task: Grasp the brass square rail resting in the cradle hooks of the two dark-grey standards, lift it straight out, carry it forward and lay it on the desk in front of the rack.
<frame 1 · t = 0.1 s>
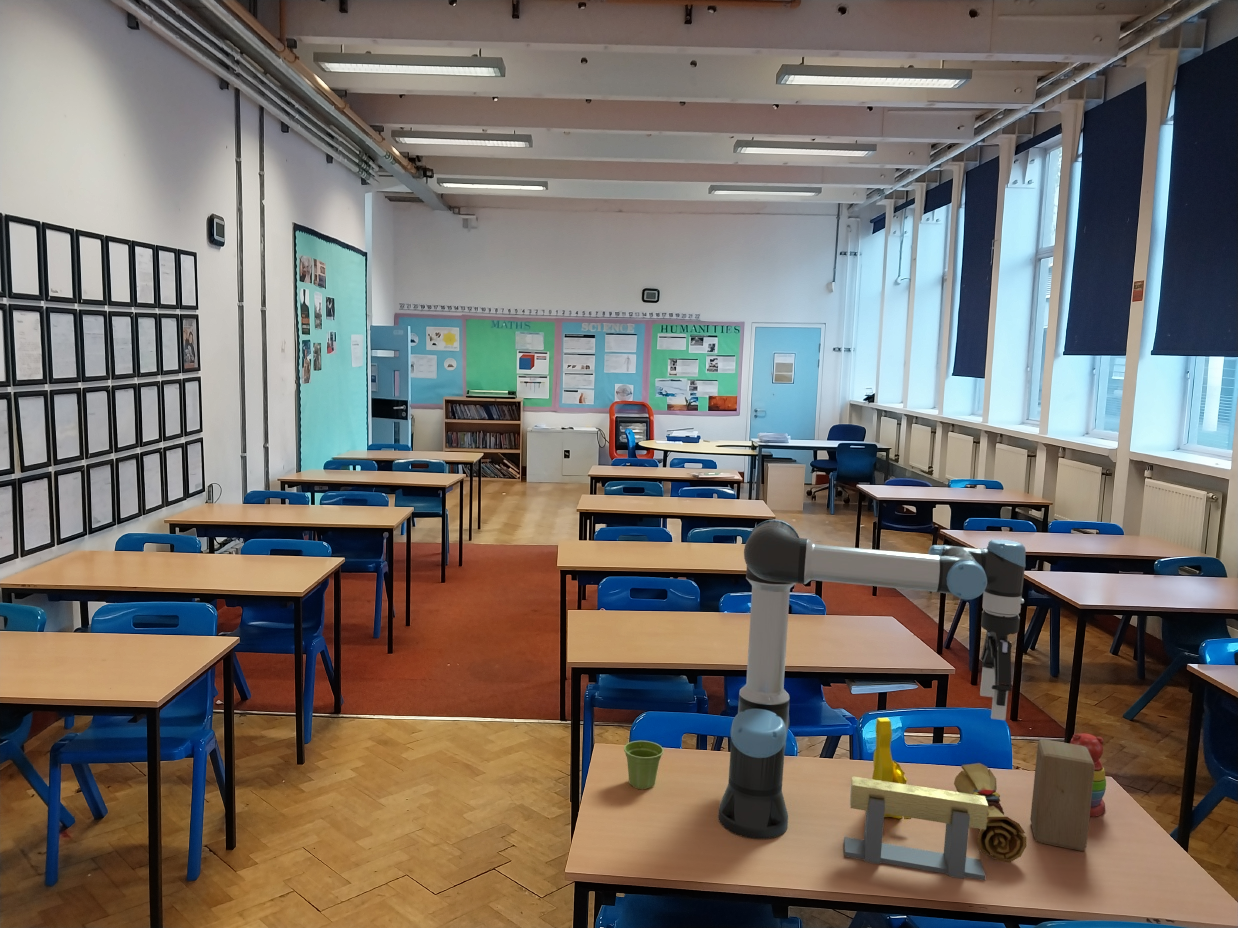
hand: (992, 707, 186), 28 cm above the table, fingers open, 13 cm apart
wooden block: (1056, 837, 186), on the table
figure statuette: (886, 812, 194), on the table
rack: (912, 859, 175), on the table
stacking bear: (1080, 807, 201), on the table
scroll: (985, 831, 188), on the table
rail: (916, 813, 174), point 10 cm above the table, touching rack
plant pot: (641, 784, 202), on the table
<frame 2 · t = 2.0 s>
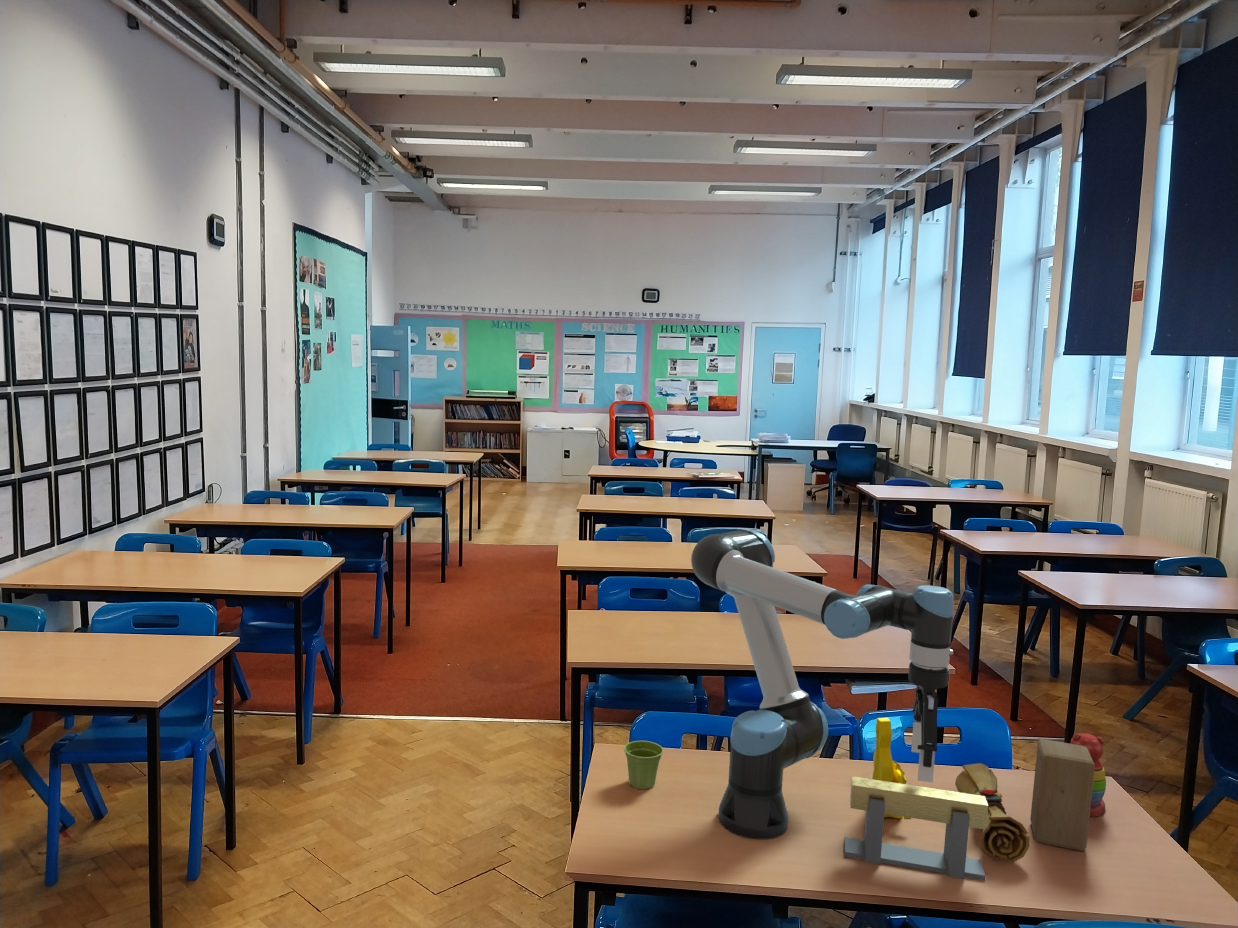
hand: (921, 765, 172), 20 cm above the table, fingers open, 13 cm apart
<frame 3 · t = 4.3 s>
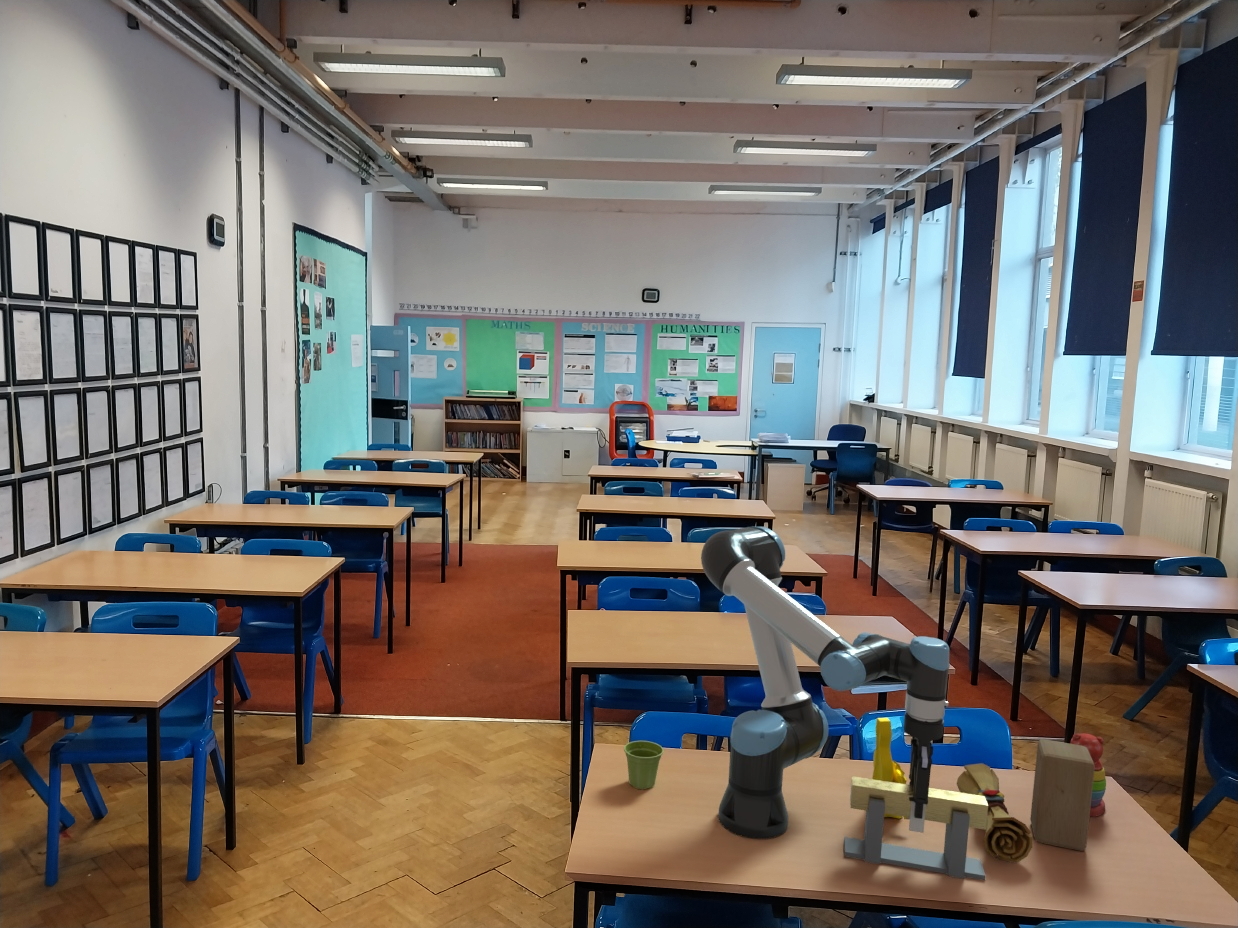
hand: (915, 824, 174), 8 cm above the table, fingers closed on rail, 4 cm apart
rail: (916, 813, 174), point 10 cm above the table, touching gripper, rack
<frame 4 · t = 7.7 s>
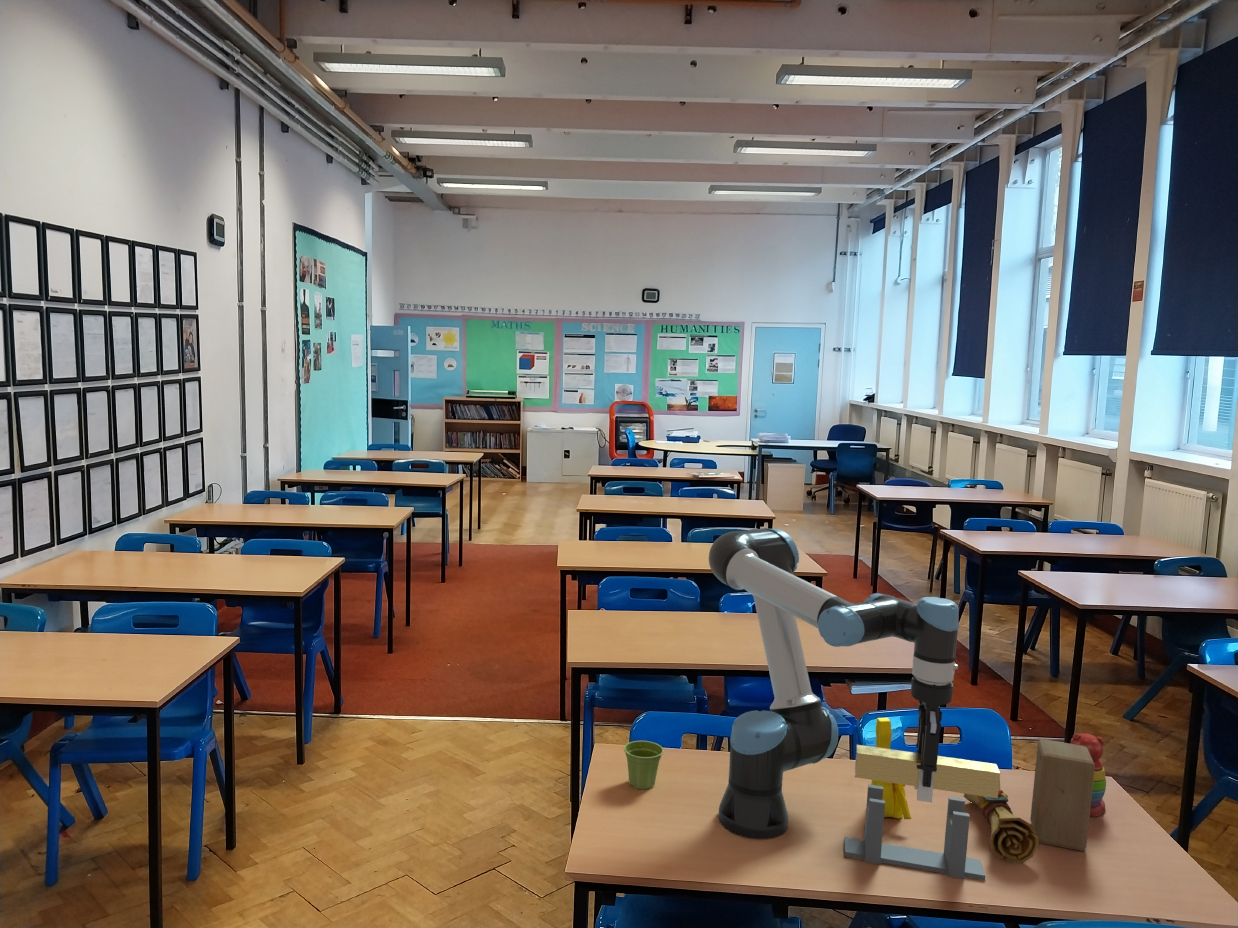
hand: (923, 794, 166), 18 cm above the table, fingers closed on rail, 4 cm apart
rail: (924, 782, 166), point 20 cm above the table, touching gripper
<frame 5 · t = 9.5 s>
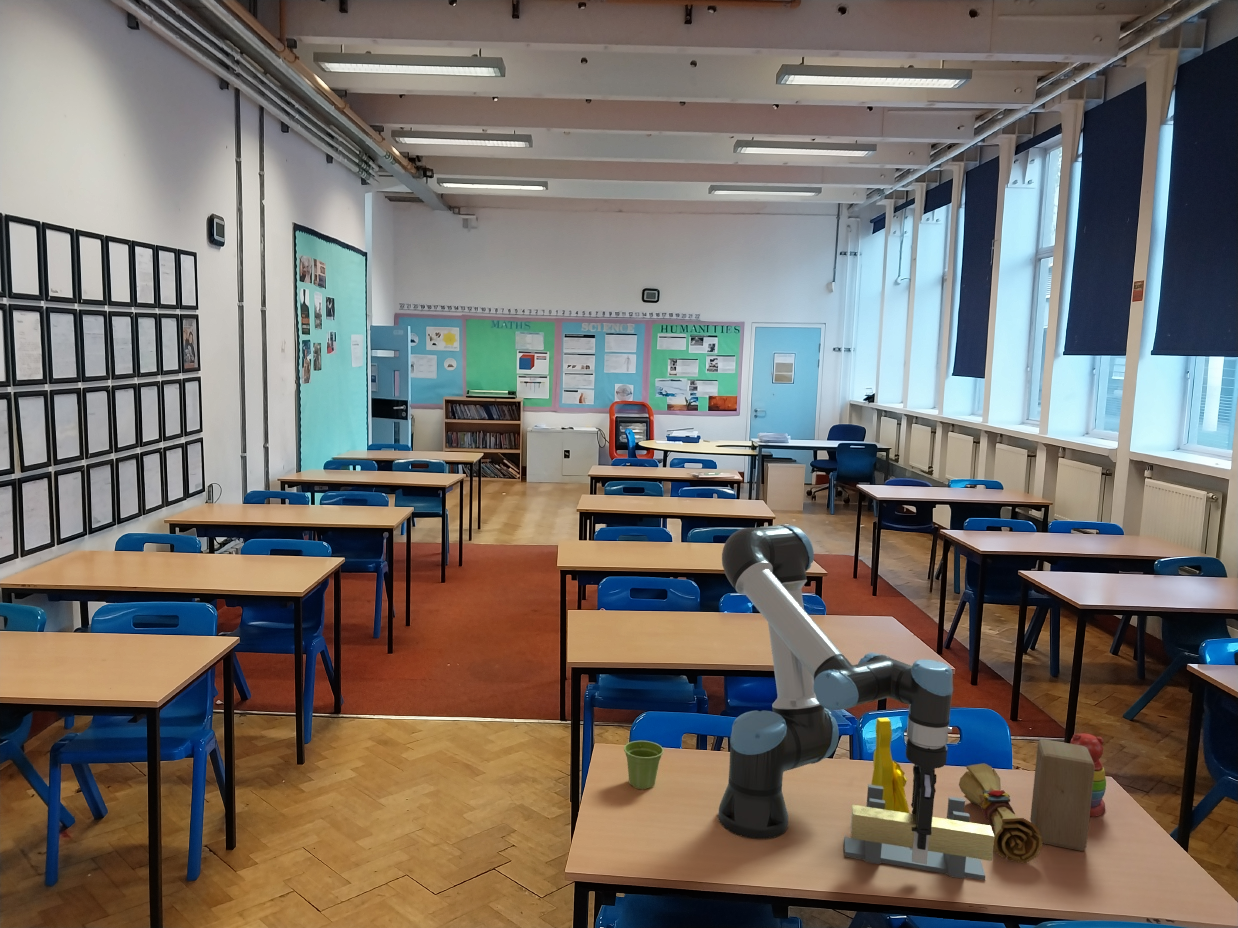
hand: (918, 855, 167), 5 cm above the table, fingers closed on rail, 4 cm apart
rail: (919, 843, 167), point 7 cm above the table, touching gripper
when the fingers open (1 cm above the table, at t = 11.1 s): rail drops 4 cm, on the table.
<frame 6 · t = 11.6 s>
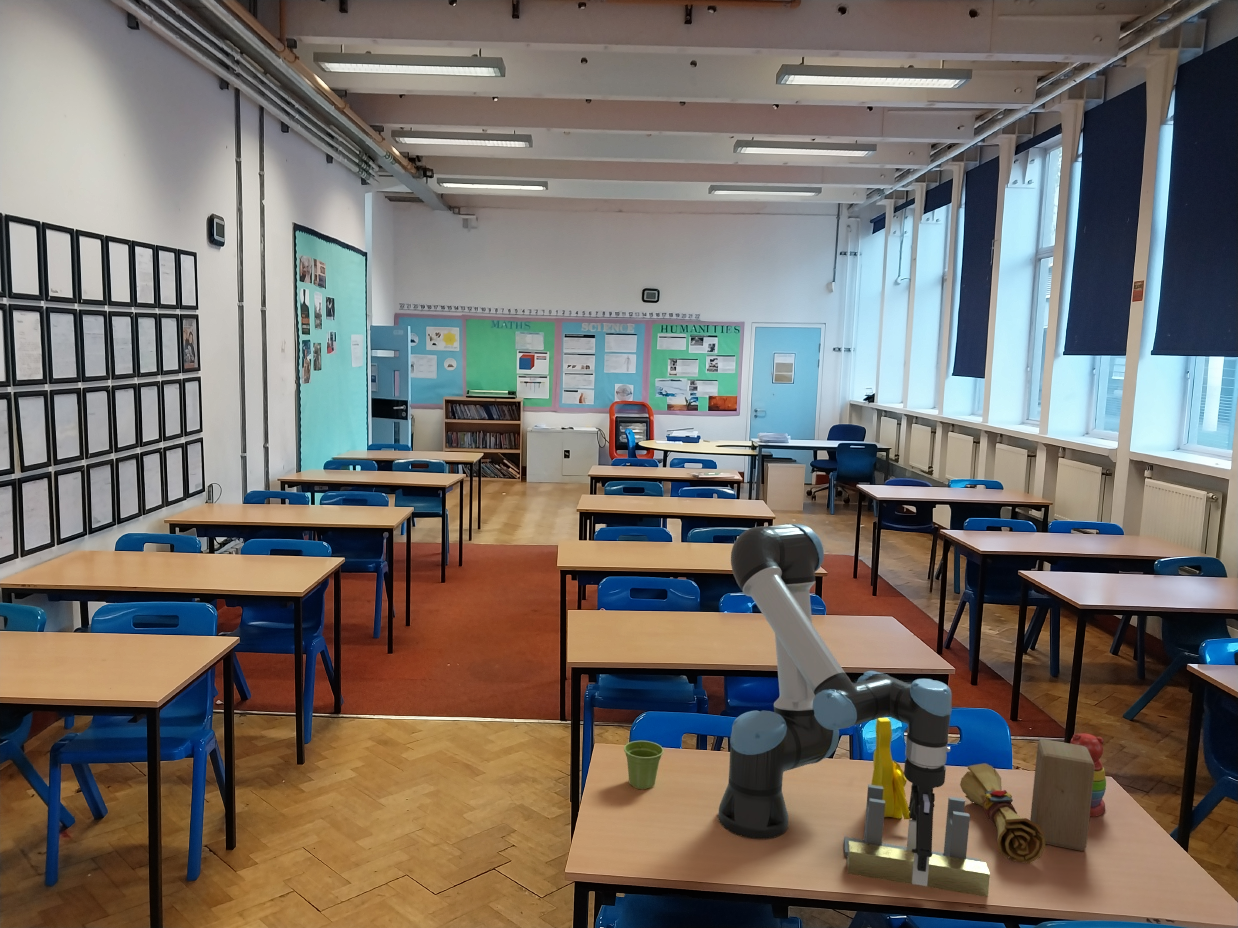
hand: (916, 867, 168), 2 cm above the table, fingers open, 11 cm apart
rail: (915, 880, 168), on the table
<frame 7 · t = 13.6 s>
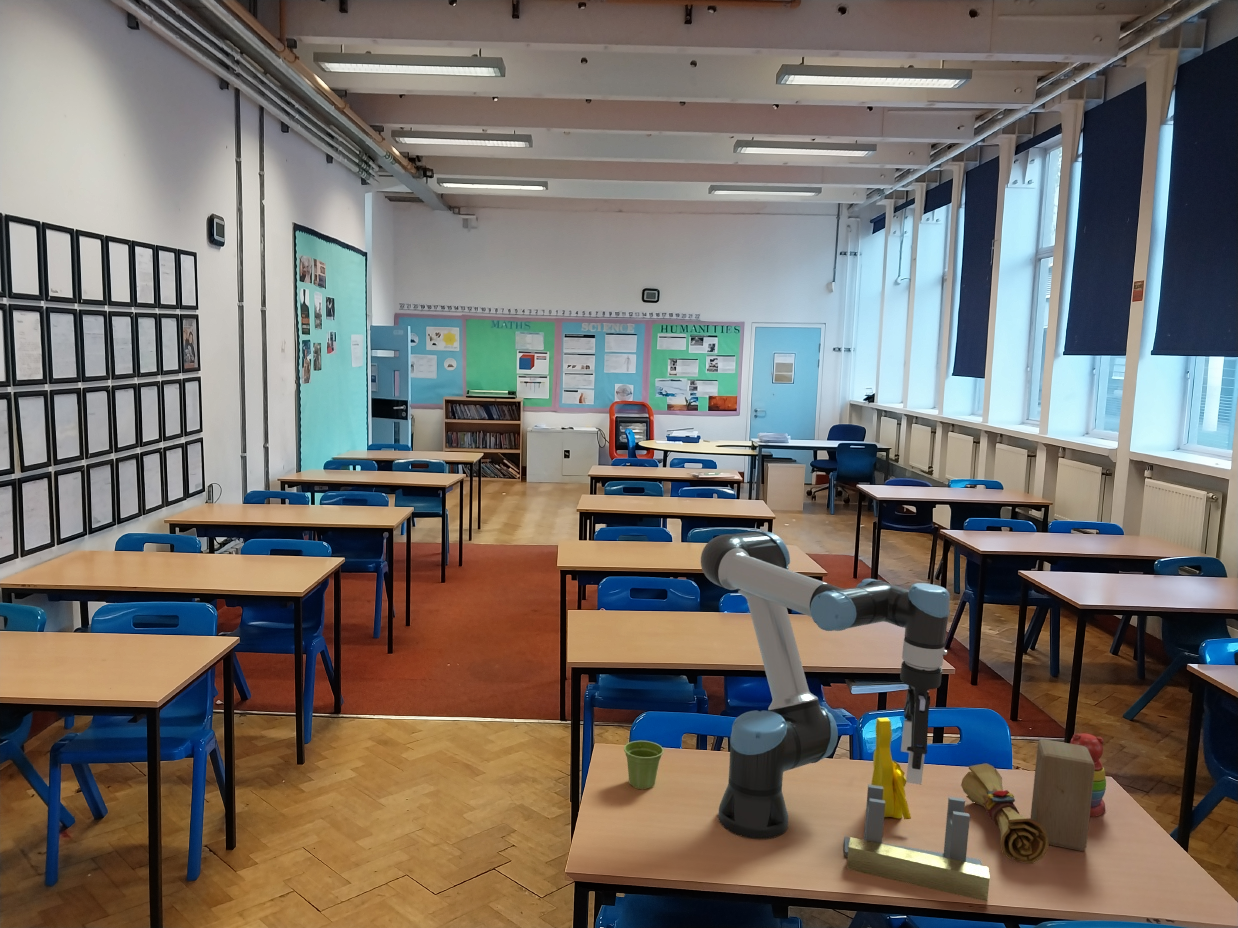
hand: (910, 766, 169), 22 cm above the table, fingers open, 13 cm apart
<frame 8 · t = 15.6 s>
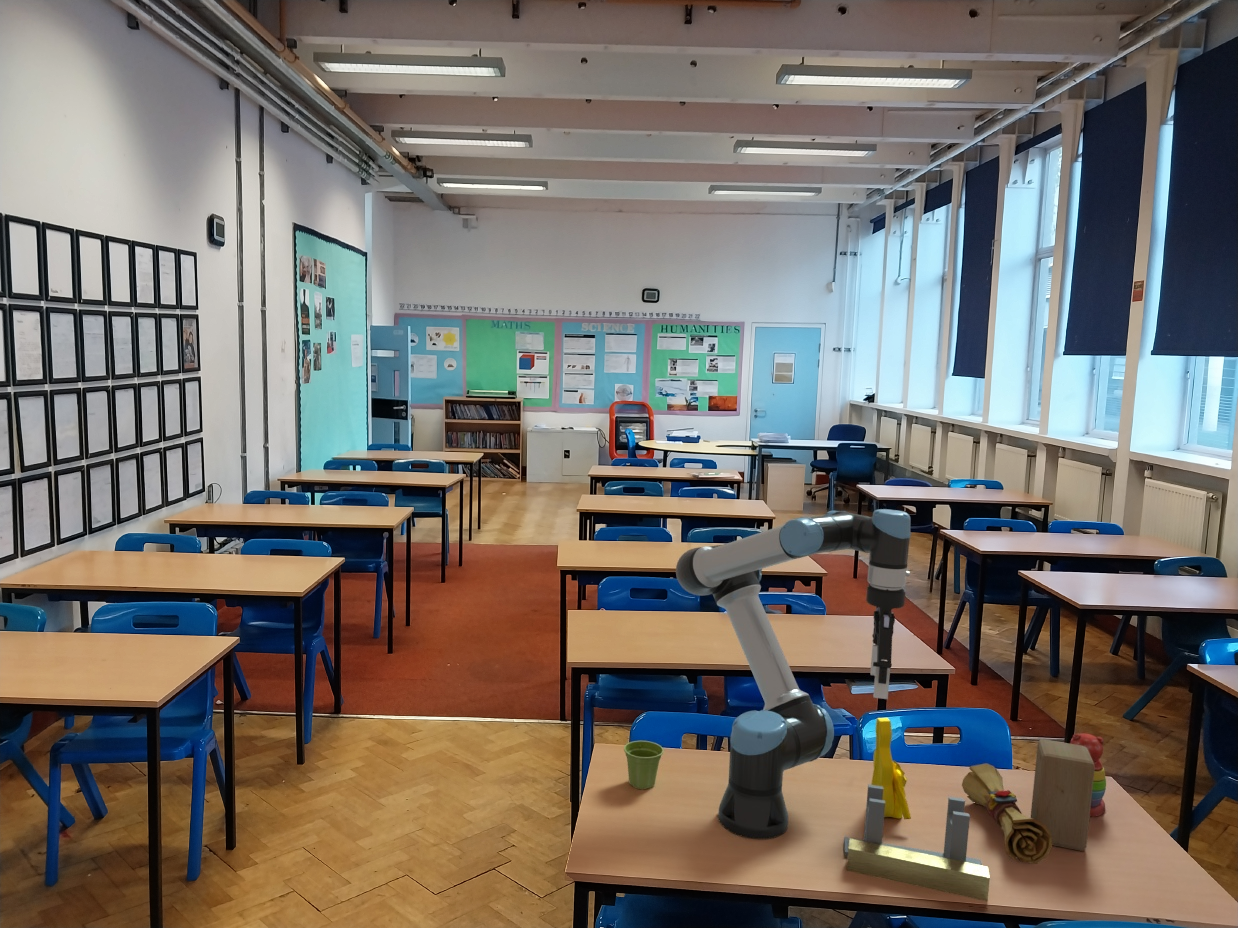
hand: (878, 686, 176), 35 cm above the table, fingers open, 13 cm apart
at the end: rail inside the target area (0.3 cm from its centre), on the table; rail touching table; the gripper is holding nothing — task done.
